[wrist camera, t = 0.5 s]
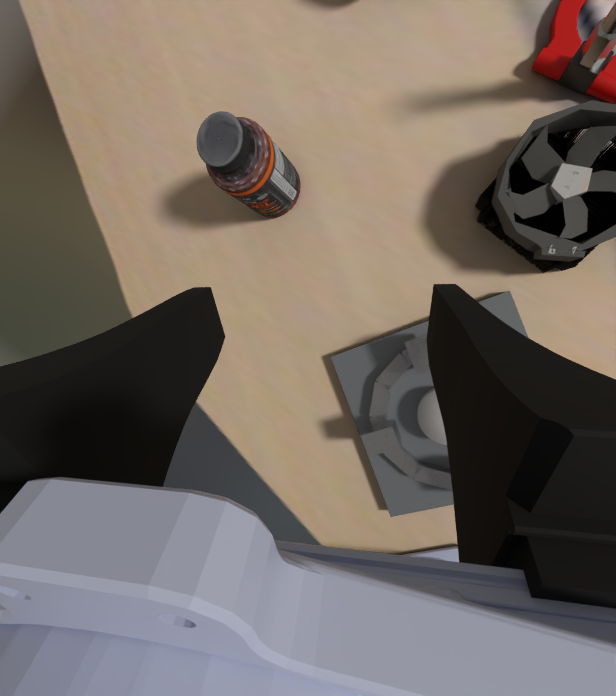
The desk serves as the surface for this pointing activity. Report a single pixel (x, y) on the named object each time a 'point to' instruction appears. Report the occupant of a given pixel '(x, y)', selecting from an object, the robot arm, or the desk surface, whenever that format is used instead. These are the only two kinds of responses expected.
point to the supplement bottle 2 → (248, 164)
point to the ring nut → (384, 431)
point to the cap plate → (407, 410)
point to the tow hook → (580, 53)
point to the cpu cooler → (558, 187)
